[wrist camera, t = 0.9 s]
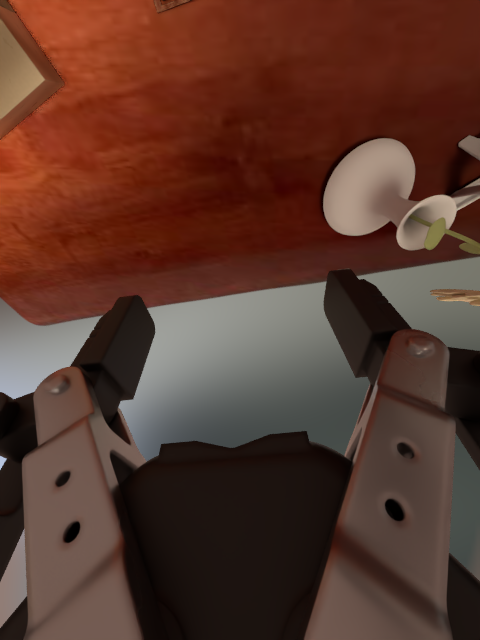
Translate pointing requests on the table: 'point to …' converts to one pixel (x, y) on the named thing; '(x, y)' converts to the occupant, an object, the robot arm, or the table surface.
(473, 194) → the tablet stand
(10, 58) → the stepped block
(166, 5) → the key
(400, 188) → the flower in vase
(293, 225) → the table surface
